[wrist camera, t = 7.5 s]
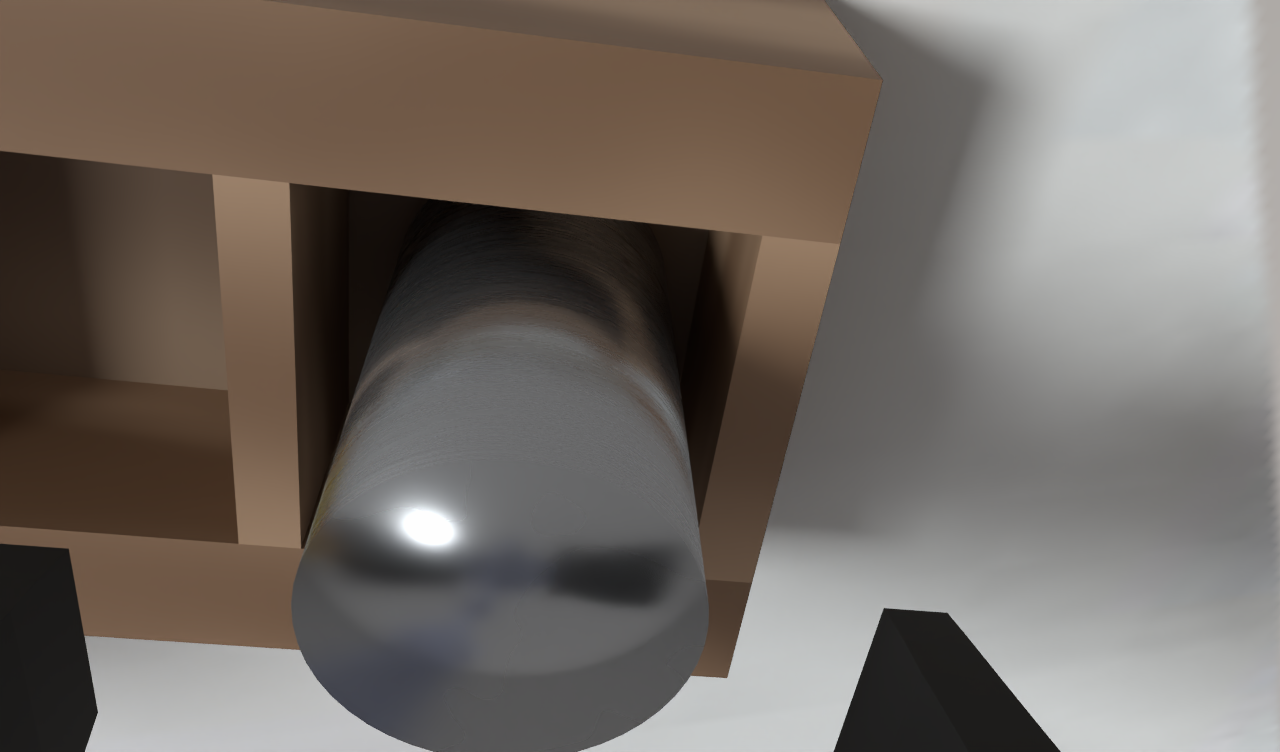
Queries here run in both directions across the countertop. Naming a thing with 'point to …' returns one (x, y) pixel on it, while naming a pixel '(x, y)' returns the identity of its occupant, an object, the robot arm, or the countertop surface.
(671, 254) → the socket block
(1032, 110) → the countertop surface
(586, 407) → the peg
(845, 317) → the countertop surface
